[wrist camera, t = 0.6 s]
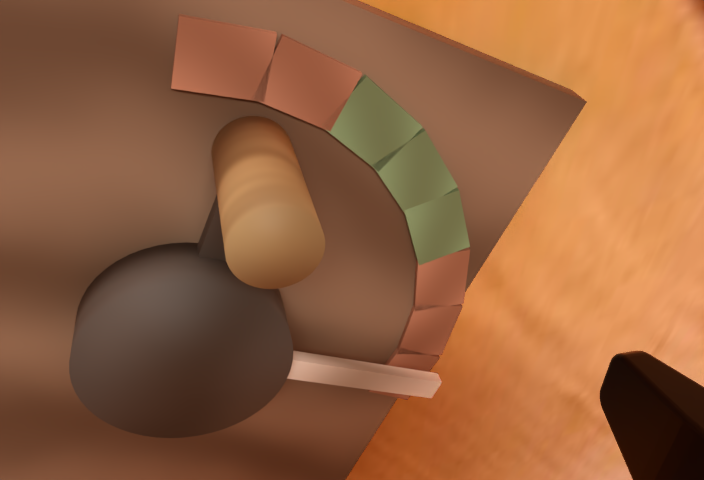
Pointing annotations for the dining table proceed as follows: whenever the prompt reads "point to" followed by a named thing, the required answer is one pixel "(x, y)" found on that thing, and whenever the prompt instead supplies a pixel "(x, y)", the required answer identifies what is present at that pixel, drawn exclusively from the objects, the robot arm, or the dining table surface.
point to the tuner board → (200, 191)
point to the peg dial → (216, 307)
